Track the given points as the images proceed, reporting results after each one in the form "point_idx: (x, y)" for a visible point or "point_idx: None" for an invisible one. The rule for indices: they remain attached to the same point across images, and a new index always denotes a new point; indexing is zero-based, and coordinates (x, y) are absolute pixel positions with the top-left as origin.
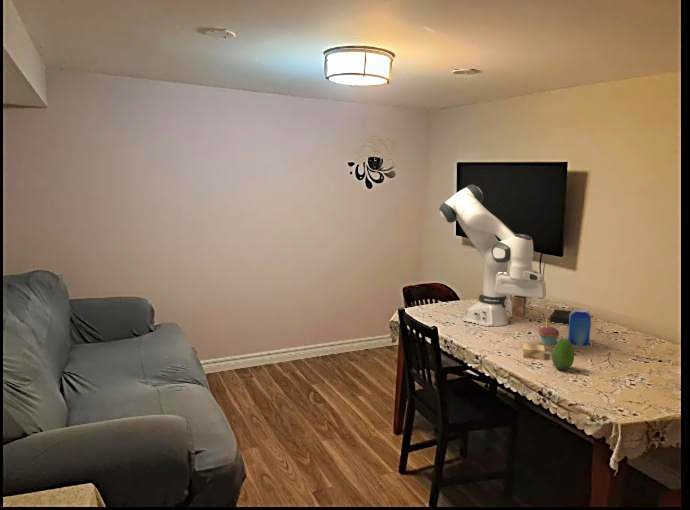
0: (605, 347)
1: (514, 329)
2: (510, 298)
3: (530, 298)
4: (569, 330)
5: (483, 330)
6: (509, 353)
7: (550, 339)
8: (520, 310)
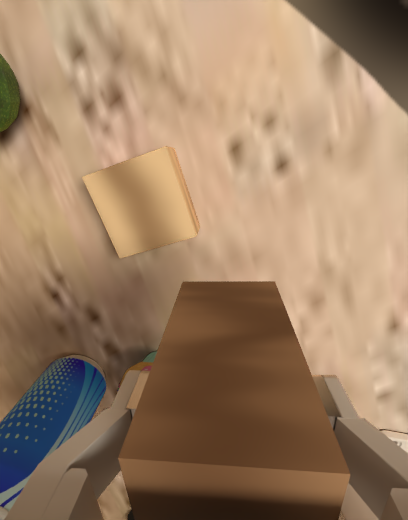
0: (24, 392)
1: None
2: (376, 479)
3: (25, 495)
4: (74, 407)
5: (391, 391)
6: (239, 175)
7: (144, 361)
8: (197, 314)
